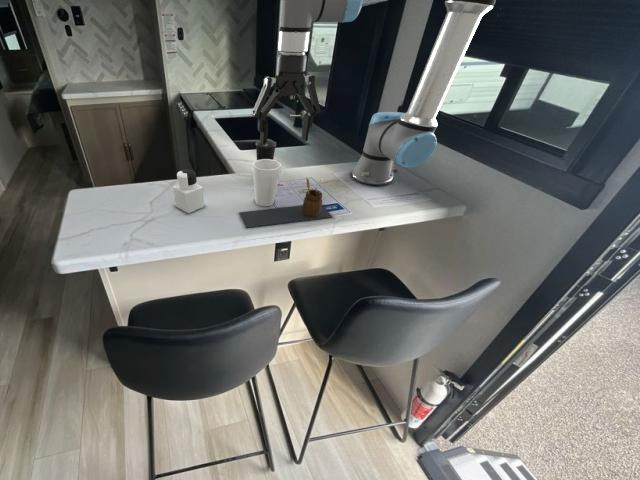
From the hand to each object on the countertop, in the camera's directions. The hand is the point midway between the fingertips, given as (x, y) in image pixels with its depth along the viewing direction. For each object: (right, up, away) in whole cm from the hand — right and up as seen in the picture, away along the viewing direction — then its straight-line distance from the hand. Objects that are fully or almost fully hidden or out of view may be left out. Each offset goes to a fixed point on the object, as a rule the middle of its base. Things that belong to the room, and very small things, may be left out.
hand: (283, 141), depth 97 cm
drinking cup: (-4, -1, +30) cm, 30 cm away
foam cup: (-5, -13, +16) cm, 22 cm away
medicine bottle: (-30, -16, +14) cm, 37 cm away
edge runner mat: (+2, -20, +9) cm, 22 cm away
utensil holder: (+10, -19, +10) cm, 24 cm away
